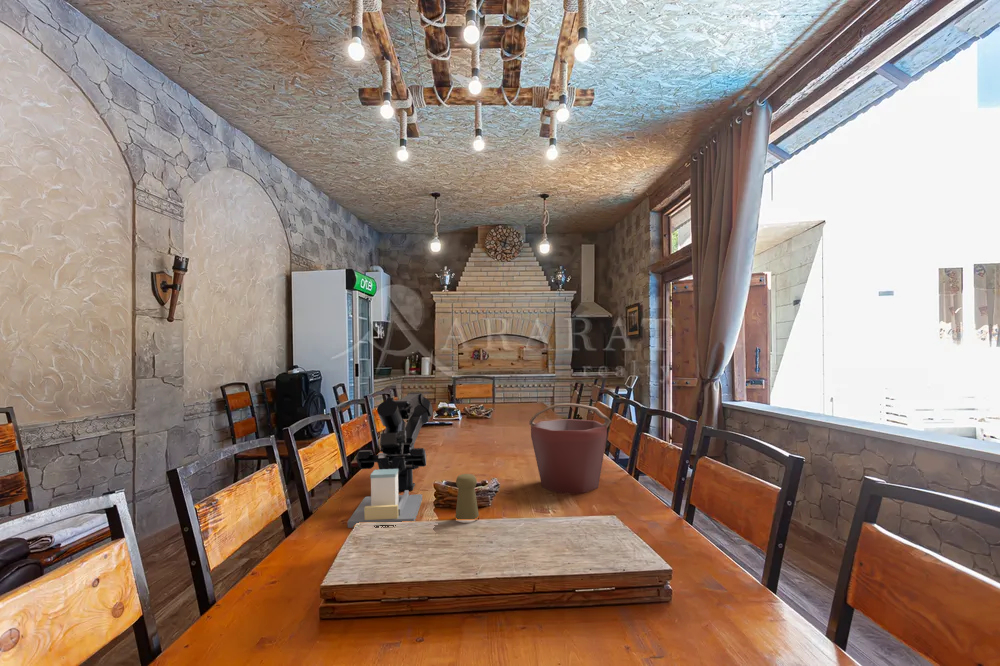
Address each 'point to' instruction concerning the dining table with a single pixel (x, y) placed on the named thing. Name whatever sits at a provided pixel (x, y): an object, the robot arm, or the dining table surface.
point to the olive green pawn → (466, 497)
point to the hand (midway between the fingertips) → (388, 486)
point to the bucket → (569, 451)
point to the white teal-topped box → (384, 487)
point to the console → (387, 510)
